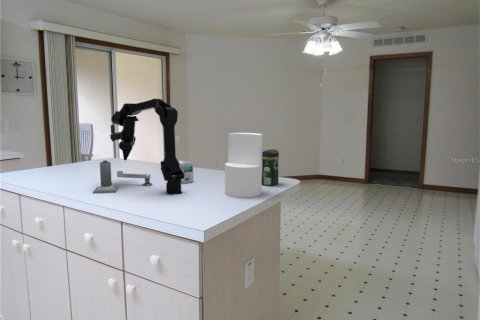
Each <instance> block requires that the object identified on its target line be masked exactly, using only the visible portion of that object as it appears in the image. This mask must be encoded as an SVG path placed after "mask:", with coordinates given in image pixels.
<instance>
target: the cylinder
mask: <svg viewBox="0 0 480 320" xmlns="http://www.w3.org/2000/svg"><path fill="white" fill-rule="evenodd" d="M227 136H228V137H227V138H228V141H227V145H228V146H227V151H228V152H227V162H225V163H224V194H225V195H226V196H229V197H233V198H254V197H256V198H257V197H259V196H261V195H262V152H263V137H264V136H263V133H257V132H256V133H255V132H229V133H227Z"/></svg>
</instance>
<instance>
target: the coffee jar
mask: <svg viewBox="0 0 480 320" xmlns="http://www.w3.org/2000/svg"><path fill="white" fill-rule="evenodd" d="M279 154H280V152H279V150H278V149H271V148H270V149H267V150H262V183H261V185H264V186H266V187H268V186H276V185H278V184H279V160H280V159H279V158H280V155H279Z"/></svg>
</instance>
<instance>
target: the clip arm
mask: <svg viewBox="0 0 480 320" xmlns="http://www.w3.org/2000/svg"><path fill="white" fill-rule="evenodd" d="M116 177H117V178H122V179H123V178H125V179H126V178H127V179H129V178H131V179H143V180H145V179H150V180H151V173H124V171H122V170H118V171H116Z"/></svg>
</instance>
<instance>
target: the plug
mask: <svg viewBox="0 0 480 320" xmlns="http://www.w3.org/2000/svg"><path fill="white" fill-rule="evenodd" d="M111 164H112V163H111V161H108V160H107V159H106V160H103V161H101V162H99V176H100V177H99V178H100V185H99V187H100V189H101V190H108V189H112V188H113V186H114V185H113V183H112V166H111Z"/></svg>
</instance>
